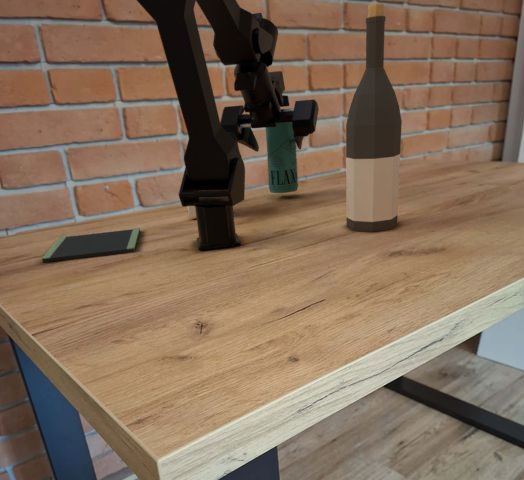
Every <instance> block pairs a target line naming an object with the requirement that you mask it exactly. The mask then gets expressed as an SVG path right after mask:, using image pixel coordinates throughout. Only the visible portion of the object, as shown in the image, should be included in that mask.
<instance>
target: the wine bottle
mask: <svg viewBox="0 0 524 480" xmlns="http://www.w3.org/2000/svg"><path fill="white" fill-rule="evenodd" d="M384 10H385V5H384V3H372V4H371V3H370V4H369V5H368V6H367V17H366V18H365V24H366V26H365V27H366V28H365V29H366V31H365V33H366V34H365V36H366V37H365V70H364V72H363V74H362V77H361V79H360V81H359V82H358V85H357V88H356V90H355V91H354V94H353V96H352V100H351V103H350V106H349V109H348V113H347V119H346V122H345V123H346V124H345V177H346V178H345V179H346V180H345V182H346V183H345V184H346V185H345V186H346V188H345V189H346V190H345V191H346V192H345V197H346V198H345V199H346V202H345V203H346V207H345V208H346V210H345V211H346V213H345V214H346V216H345V217H346V227H347V228H349V229H351V230H352V231H354V232H355V231H357V232H369V233H370V232H372V233H373V232H381V231H387V230H392V229H393V228H394V227H396V226H397V225H398V220H399V219H398V218H399V217H398V216H399V198H400V197H399V196H400V174H401V173H400V169H401V150H402V149H401V147H402V146H401V145H402V125H403V124H402V123H403V122H402V121H403V120H402V115H401V109H400V105H399V102H398V101H399V100H398V97H397V94H396V91H395V89H394V87H393V85H392V82H391V80H390V79H389V77H388V75H387V71H386V70H385V68H384V67H385V66H384V65H385V64H384V63H385V62H384V61H385V60H384V58H385V26H386V24H385V23H386V16H385V15H384V12H385V11H384Z"/></svg>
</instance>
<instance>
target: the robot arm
mask: <svg viewBox="0 0 524 480" xmlns="http://www.w3.org/2000/svg"><path fill="white" fill-rule="evenodd" d="M136 2H137V3H138V4H139V5H140V6H141V8H143V9H144V11H146V12H147V14H148V15H149V16H150V17H151V18H152V20H153V21H154V22H155V24H156V28H157V31H158V35H159V38H160V42H161V45H162V48H163V52H164V56H165V59H166V63H167V65H168V69H169V73H170V76H171V80H172V84H173V87H174V91H175V93H176V97H177V101H178V105H179V107H180V111H181V115H182V118H183V122H184V126H185V129H186V132H187V136H188V140H187V144H186V148H185V152H184V154H183V163H184V167H185V168H184V171H183V175H182V179H181V184H180V187H179V191H178V197H179V198H178V199H179V201H180V204H181V206H182V207H183V208H184V207H186V208H187V206H195V210H196V218H195V219H196V224H197V232H198V237H196V245H197V250H198V251H206V250H214V249H221V248H229V247H230V248H231V247H238V246H241V245H242V244H241V239H240V238H239V236H238V233H236V225H235V215H234V207H235V206H236V205H238V204H240V203H242V202H244V201H245V189H246V188H245V187H246V182H245V181H246V166H245V162H244V159H243V158H242V154H241V152H240V148H239V144H241V145H243V146H245V147H246V148H249V149H251V150H252V151H254V152H255V153H256V152H257V153H258V152H259V149H260V146H259V143H258V140H257V138H256V136H255V134H254V131H253V130H252V129H266V127H276V126H277V123H282V122H292V128H293V132H294V139H295V141H296V144H297V145H296V146H297V147H296V148H297V149H298V150H302V147H303V140H304V138H305V137H308V136H309V135H312V134H313V133H315V132H316V128H317V122H318V117H319V116H318V115H319V104H318V102H317V100H316V99H315V98H314V99H303V100H302V99H301V100H295V101H294V106H293V108H292V107H291V108H282V107H280V106H281V105H283V101H284V100H283V96H282V95H284V94H283V93H284V91H285V90H286V87H285V79H284V74H283V71H281V70H277V71H269V69H268V68H269V67H270V66H272V65H273V62H274V58H275V51H276V46H277V43H278V38H279V29H278V27H277V26H276V25H275V24H274V22H272V21H271V20H269V19H268V18H264V17H263V14H262V12H256V13H252V12H250V11H248V10H247V9H244V8H242V7H241V6H240V5H239V3H238V2H237V0H136ZM196 3H197V6H198V7H199V9H200V10H201V12H202V14H203V16H204V17H205V18H206V20H207V22H208V23H209V26H210V27H211V29H212V31H213V42H212V46H213V50H214V52H215V55H216V57H217V58H218V59H219V61H220V62H221V64H222V65H223V66H235V67H234V70H233V77H234V82H233V90H234V91H235V92H240V94H241V97H242V99H243V101H244V105H243V104H239V105H231V106H224V108H223V109H222V113H221V116H219V112H218V107H217V103H216V98H215V96H214V90H213V86H212V83H211V82H212V81H211V77H210V74H209V69H208V66H207V61H206V56H205V54H204V53H205V52H204V48H203V45H202V40H201V36H200V32H199V27H198V23H197V19H196V15H195V10H194V9H195V5H196ZM244 112H245V113H244Z"/></svg>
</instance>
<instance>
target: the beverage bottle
mask: <svg viewBox="0 0 524 480" xmlns="http://www.w3.org/2000/svg"><path fill="white" fill-rule="evenodd" d="M282 96H283V100H284V101H283V105H281V106H280V108H282V107H283V108H285V107H290V98H289V96H288V95H284V94H282ZM265 138H266V154H267V155H266V156H267V159H266V160H267V166H266V167H267V177H268V180H267V181H268V183H267V184H268V189H269V192H270V193H272V194H286V193H293V192H296V191H298V188H299V179H298V171H299V170H298V168H299V167H298V158H297V148H298V147H297V144H296V141H295V139H294V132H293V128H292V122H282V123H277V126H276V127H265Z"/></svg>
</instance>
